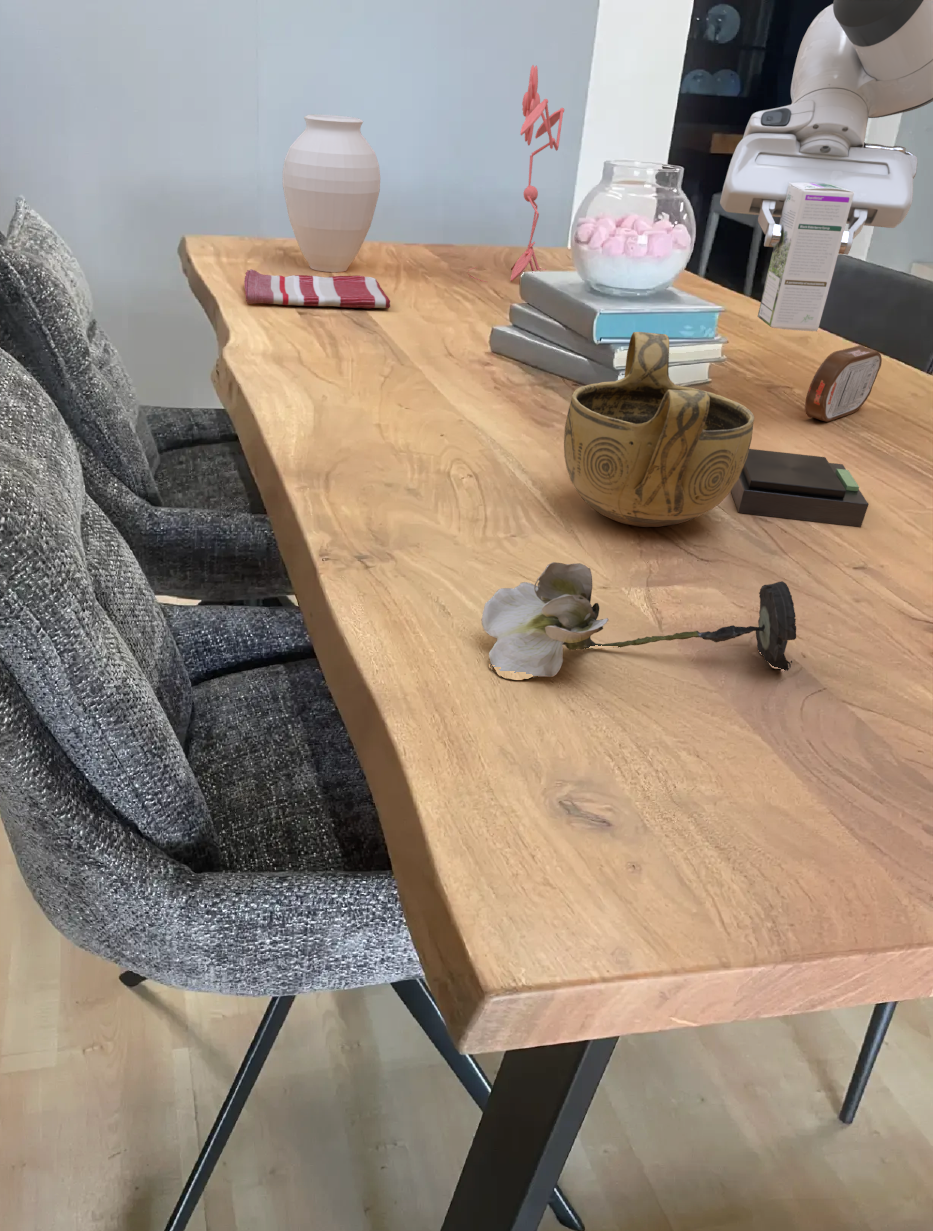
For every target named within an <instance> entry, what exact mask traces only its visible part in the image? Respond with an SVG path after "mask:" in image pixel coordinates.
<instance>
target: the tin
mask: <svg viewBox="0 0 933 1231" xmlns="http://www.w3.org/2000/svg"><path fill="white" fill-rule="evenodd" d="M882 361H883V359H882V355H881V353H880V352H879V351H878V350H875V349H872V348H869V347H865V345H863V344H860V345H856V346H852V347H848V348H843V349H840V350H836V351H833V352H831V353H830V354H829V355H828V356H827V357H826V358H825V359H824V360H823V361H822V363H821V364H820V365H819V367H818V368H817V371H816V372H815V374H814V376H813V378H812V380H811V382H810V385H809V388H808V390H807V393H806V397H805V402H804V412H805V415H806V416H807V417H809V418H813V419H816V420H818V421H821V422H831V421H834V420H837V419H839V418H843V417H846V416H849V415H851V414H852V415H853V414H854V413H856V412H857V411H858V410H860V409H861V407H862V406H864V404H865V403H866V401H867V400H868V398H869V396H870V395H871V392H872V389H873V386H874V384H875V381H876V379H877V376H878V374H879V371H880V369H881V367H882Z"/></svg>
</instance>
